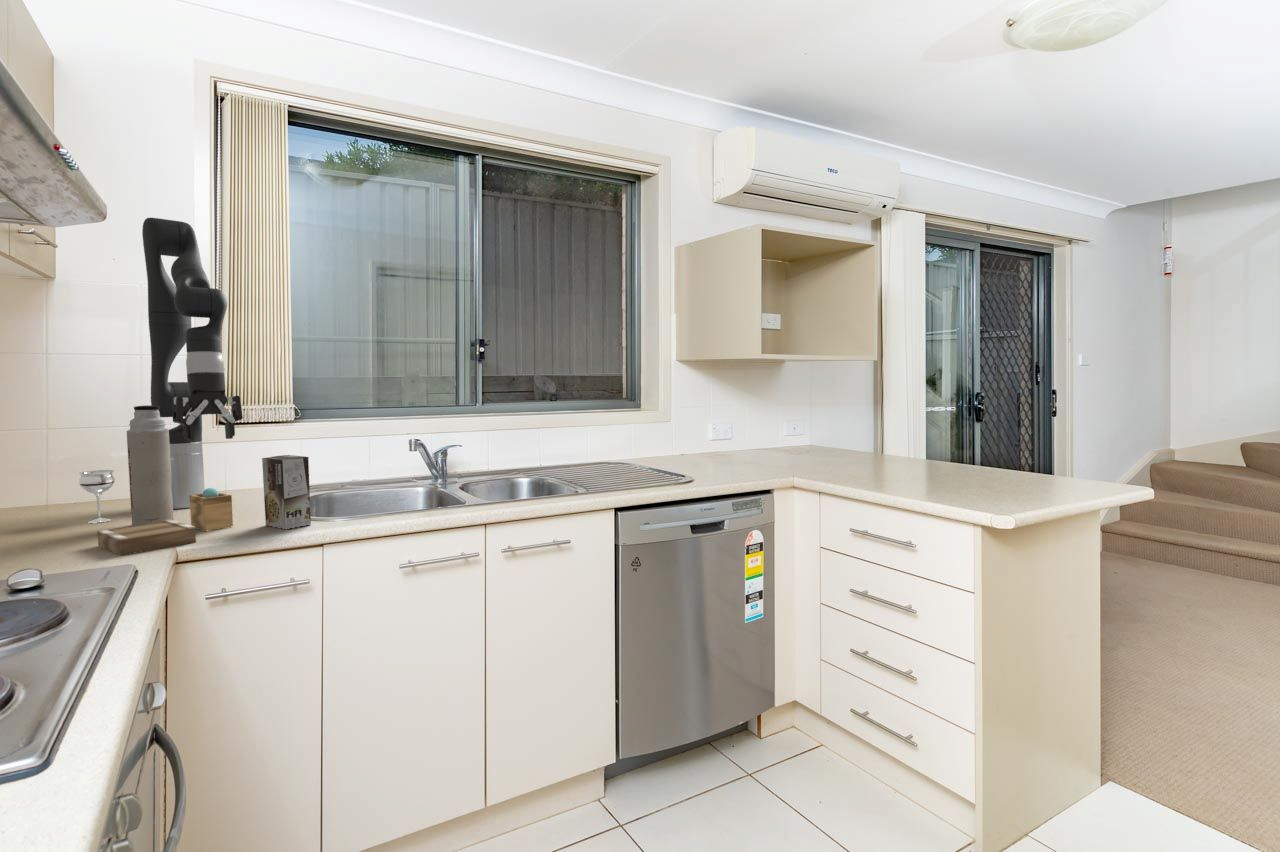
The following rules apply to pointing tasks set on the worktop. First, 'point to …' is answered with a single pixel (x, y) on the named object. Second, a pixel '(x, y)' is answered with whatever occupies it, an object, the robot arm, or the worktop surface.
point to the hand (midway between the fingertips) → (210, 440)
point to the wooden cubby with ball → (211, 511)
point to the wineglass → (97, 486)
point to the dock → (146, 537)
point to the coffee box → (286, 491)
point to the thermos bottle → (149, 467)
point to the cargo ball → (210, 493)
